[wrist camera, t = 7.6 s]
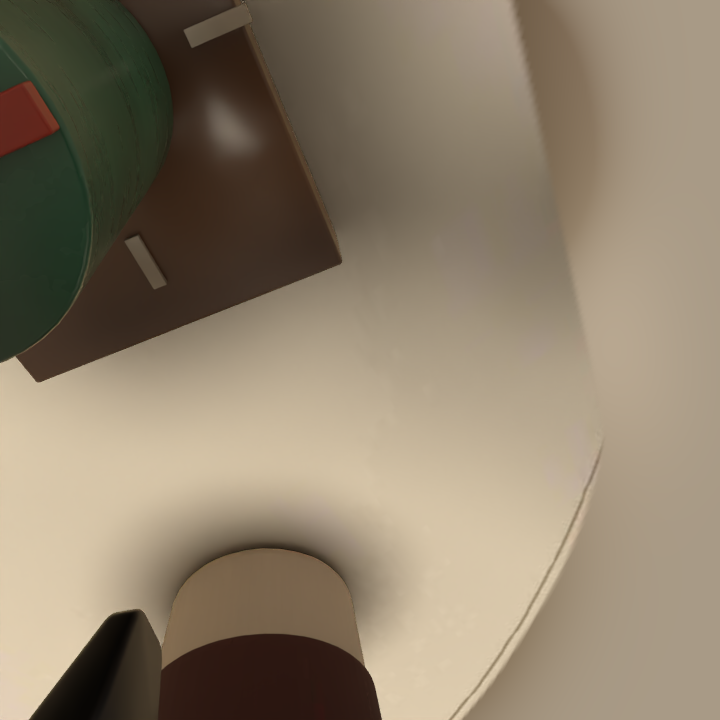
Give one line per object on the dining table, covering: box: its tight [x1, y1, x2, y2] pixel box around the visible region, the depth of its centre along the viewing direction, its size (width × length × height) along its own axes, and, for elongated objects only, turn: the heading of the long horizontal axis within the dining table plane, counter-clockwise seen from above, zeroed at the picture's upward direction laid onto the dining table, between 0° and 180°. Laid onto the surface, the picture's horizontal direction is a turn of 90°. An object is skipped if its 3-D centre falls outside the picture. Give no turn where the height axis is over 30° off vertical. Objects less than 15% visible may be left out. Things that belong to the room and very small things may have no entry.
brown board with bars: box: [16, 0, 342, 382], centre depth 14 cm, size 12×9×2 cm
